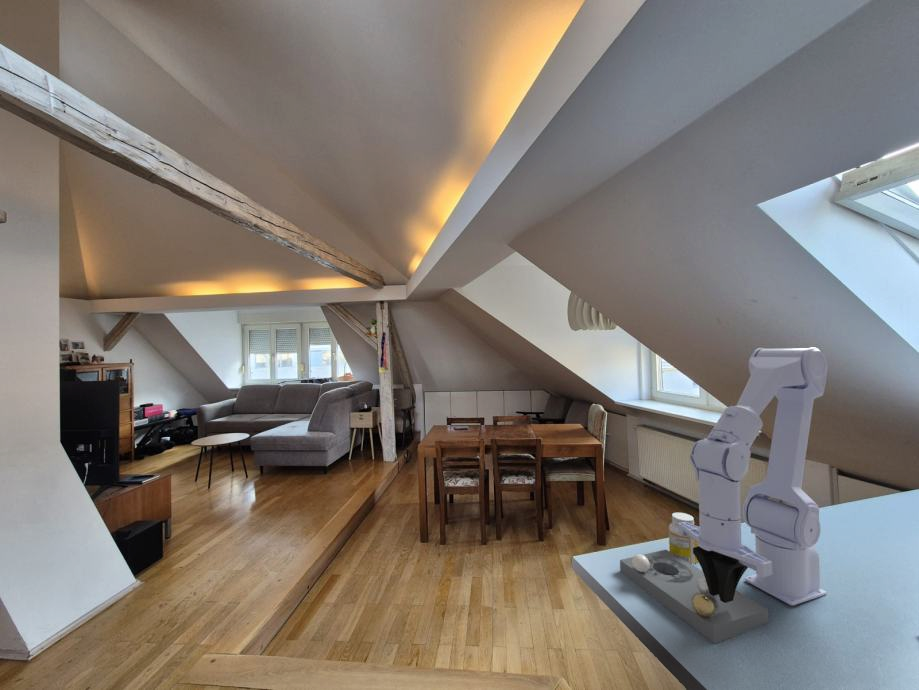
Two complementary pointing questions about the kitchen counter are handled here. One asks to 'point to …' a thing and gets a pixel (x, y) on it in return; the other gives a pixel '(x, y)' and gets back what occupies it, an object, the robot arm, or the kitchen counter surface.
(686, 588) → the plate
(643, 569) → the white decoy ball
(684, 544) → the supplement bottle
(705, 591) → the steel ball
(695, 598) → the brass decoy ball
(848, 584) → the kitchen counter surface
